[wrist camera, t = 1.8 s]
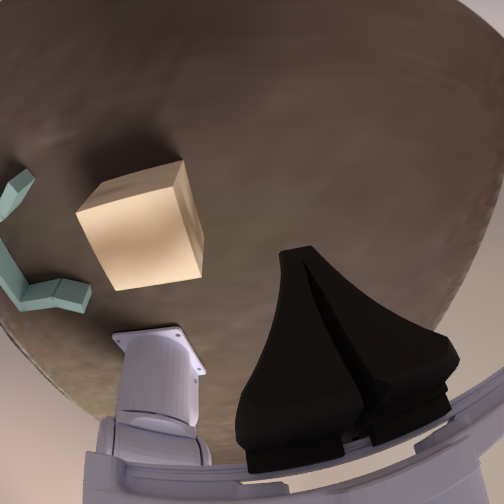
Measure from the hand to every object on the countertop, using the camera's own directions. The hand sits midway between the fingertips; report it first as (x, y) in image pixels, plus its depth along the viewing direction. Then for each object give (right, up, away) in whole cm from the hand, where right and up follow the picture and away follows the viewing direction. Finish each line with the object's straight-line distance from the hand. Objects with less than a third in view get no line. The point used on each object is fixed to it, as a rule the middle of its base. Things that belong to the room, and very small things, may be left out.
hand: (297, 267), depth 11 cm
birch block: (-9, +4, +7) cm, 12 cm away
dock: (-22, +1, +7) cm, 24 cm away
